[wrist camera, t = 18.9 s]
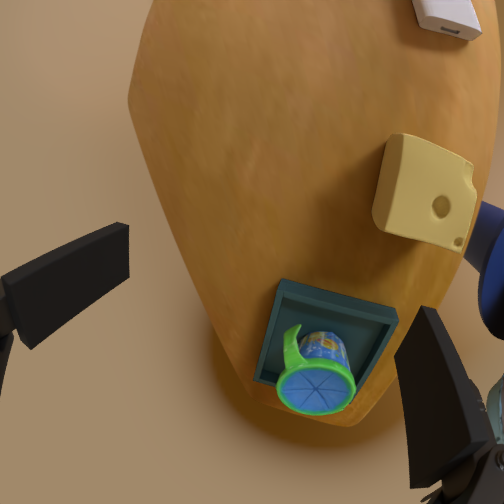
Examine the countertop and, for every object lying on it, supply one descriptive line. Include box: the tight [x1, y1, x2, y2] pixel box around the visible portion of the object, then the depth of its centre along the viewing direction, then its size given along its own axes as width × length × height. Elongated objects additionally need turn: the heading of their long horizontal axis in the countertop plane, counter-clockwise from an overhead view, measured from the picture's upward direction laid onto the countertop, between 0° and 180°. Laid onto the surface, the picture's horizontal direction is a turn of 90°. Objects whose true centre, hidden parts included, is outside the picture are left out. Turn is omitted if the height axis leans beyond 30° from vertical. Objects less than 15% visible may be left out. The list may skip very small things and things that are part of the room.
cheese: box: [371, 133, 477, 254], centre depth 26 cm, size 10×11×10 cm
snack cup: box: [276, 324, 356, 415], centre depth 37 cm, size 16×10×10 cm
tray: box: [253, 278, 399, 404], centre depth 41 cm, size 18×19×4 cm
